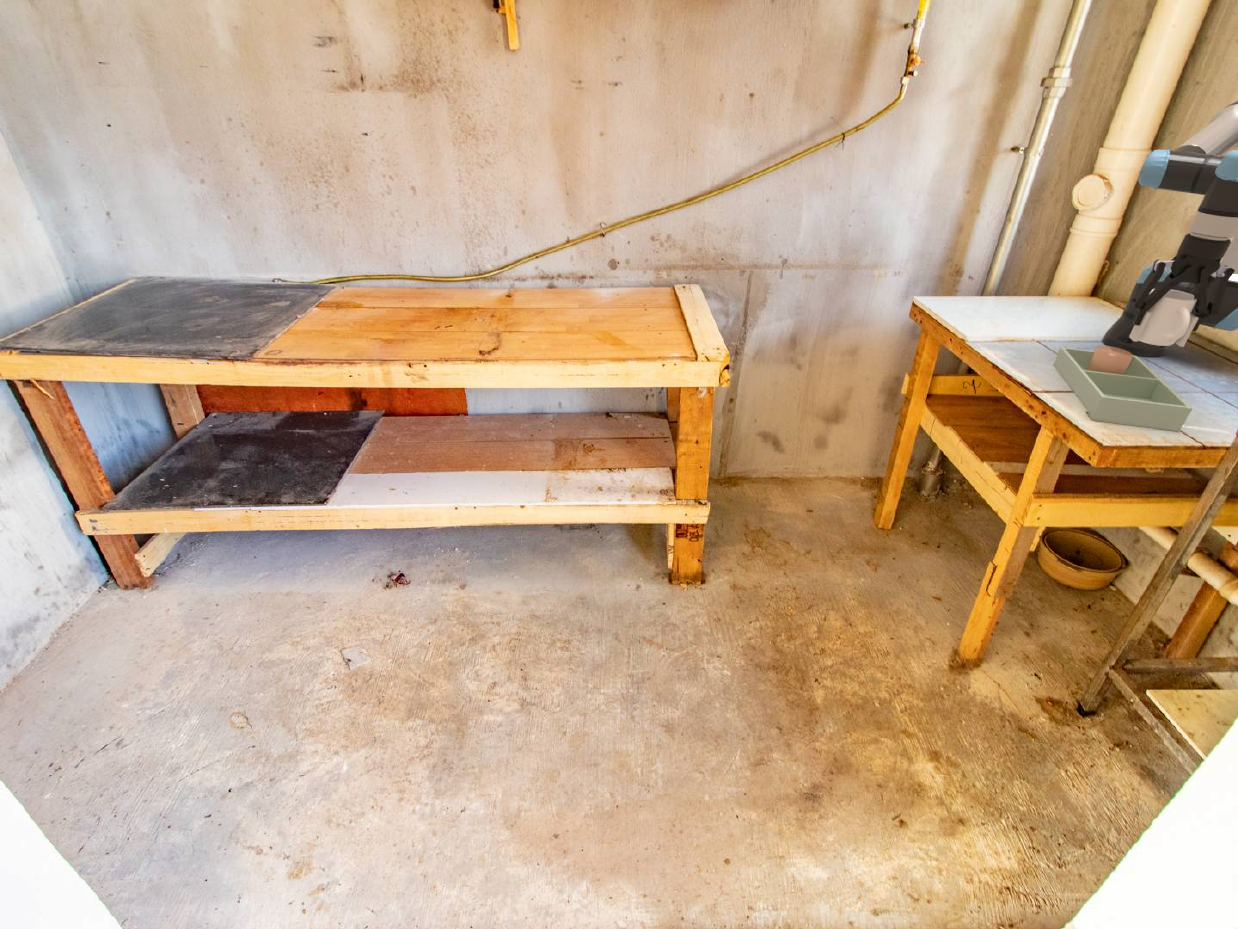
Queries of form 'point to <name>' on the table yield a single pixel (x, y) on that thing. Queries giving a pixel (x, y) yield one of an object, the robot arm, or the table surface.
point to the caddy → (1122, 393)
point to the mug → (1168, 318)
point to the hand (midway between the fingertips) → (1155, 341)
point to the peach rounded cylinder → (1110, 360)
